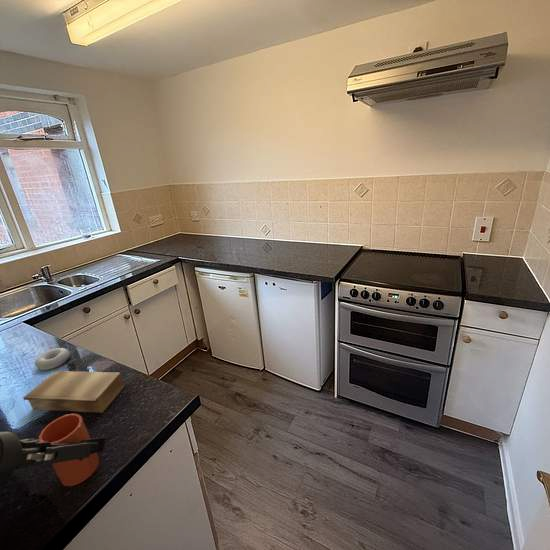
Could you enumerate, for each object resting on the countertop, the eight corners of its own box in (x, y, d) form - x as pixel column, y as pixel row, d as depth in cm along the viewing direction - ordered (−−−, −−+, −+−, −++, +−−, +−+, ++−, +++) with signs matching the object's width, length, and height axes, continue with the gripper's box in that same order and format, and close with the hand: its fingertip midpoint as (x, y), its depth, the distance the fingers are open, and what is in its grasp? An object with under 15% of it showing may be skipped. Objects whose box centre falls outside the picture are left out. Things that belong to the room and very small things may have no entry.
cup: (51, 484, 62) (29, 443, 58) (78, 452, 69) (59, 412, 65) (82, 487, 61) (62, 445, 57) (106, 454, 68) (89, 414, 63)
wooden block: (30, 411, 83) (22, 397, 81) (61, 384, 93) (55, 370, 91) (100, 415, 79) (94, 400, 77) (125, 386, 89) (120, 372, 87)
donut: (77, 354, 107) (54, 353, 109) (74, 346, 106) (51, 345, 108) (54, 373, 98) (29, 371, 100) (50, 364, 97) (25, 363, 99)
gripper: (41, 437, 46) (131, 426, 67) (-64, 429, 49) (53, 422, 70) (24, 496, 43) (123, 465, 64) (-87, 484, 46) (42, 459, 67)
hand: (86, 443), depth 67 cm, fingers closed on cup, 7 cm apart
